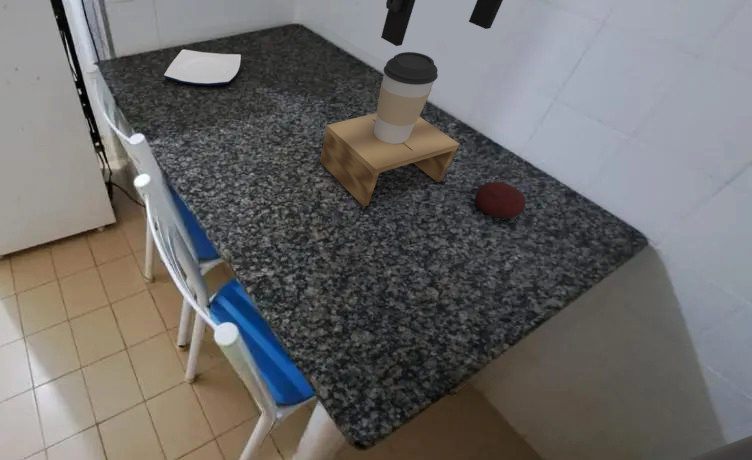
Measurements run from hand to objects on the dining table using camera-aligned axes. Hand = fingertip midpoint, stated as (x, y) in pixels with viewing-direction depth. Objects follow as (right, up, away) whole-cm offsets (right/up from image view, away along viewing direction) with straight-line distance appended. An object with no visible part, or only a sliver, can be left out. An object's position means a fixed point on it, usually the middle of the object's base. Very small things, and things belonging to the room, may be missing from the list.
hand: (437, 33), depth 46 cm
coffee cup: (+7, -4, +31) cm, 32 cm away
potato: (+25, -20, +30) cm, 44 cm away
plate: (-34, +23, +70) cm, 81 cm away
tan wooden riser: (+7, -11, +38) cm, 40 cm away
